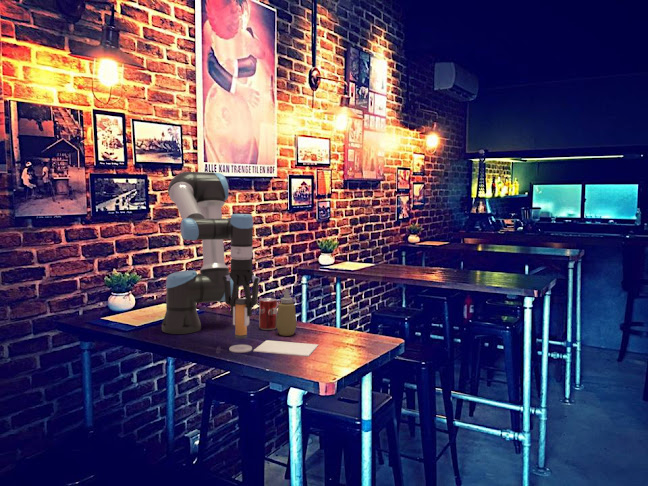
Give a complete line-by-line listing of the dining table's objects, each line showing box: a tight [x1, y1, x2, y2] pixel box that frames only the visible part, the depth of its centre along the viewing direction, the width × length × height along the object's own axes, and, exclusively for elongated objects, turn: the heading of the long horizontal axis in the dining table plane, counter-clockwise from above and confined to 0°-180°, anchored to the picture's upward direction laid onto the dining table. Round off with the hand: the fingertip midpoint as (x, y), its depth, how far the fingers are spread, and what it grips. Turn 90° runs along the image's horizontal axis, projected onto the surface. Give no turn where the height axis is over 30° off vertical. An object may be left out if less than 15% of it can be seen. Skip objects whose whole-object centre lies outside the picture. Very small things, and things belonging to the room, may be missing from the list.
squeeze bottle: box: [276, 288, 298, 337], centre depth 210 cm, size 8×8×18 cm
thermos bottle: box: [234, 297, 248, 340], centre depth 188 cm, size 4×4×14 cm
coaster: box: [229, 344, 253, 354], centre depth 189 cm, size 8×8×1 cm
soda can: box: [258, 297, 278, 331], centre depth 220 cm, size 7×7×12 cm
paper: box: [252, 339, 319, 357], centre depth 191 cm, size 20×14×1 cm
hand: (241, 324), depth 188 cm, fingers closed on thermos bottle, 3 cm apart
